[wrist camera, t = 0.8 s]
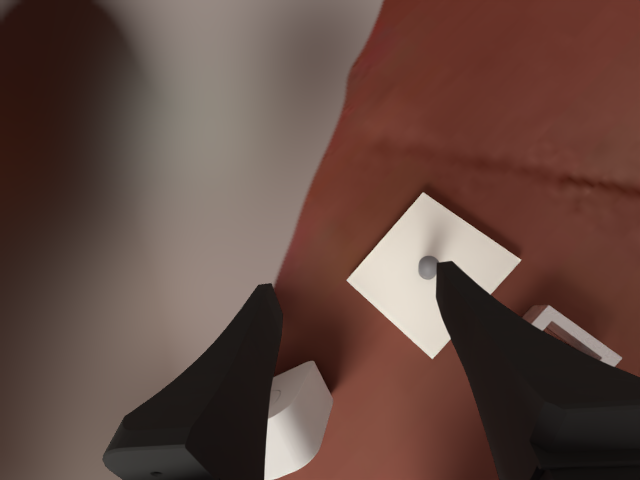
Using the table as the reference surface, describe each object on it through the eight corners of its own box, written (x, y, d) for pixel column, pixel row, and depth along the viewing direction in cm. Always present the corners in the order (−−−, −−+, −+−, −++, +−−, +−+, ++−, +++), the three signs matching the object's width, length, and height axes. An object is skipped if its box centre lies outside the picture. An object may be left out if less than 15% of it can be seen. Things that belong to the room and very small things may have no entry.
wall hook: (287, 281, 29) (238, 304, 19) (339, 383, 28) (316, 463, 18) (217, 318, 30) (138, 357, 20) (265, 416, 29) (206, 507, 19)
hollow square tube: (532, 305, 23) (549, 305, 20) (595, 351, 21) (622, 357, 18) (478, 364, 23) (487, 372, 20) (536, 414, 21) (554, 430, 19)
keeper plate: (517, 261, 24) (538, 252, 20) (431, 357, 24) (434, 367, 20) (422, 196, 27) (423, 175, 23) (348, 281, 27) (336, 276, 23)
